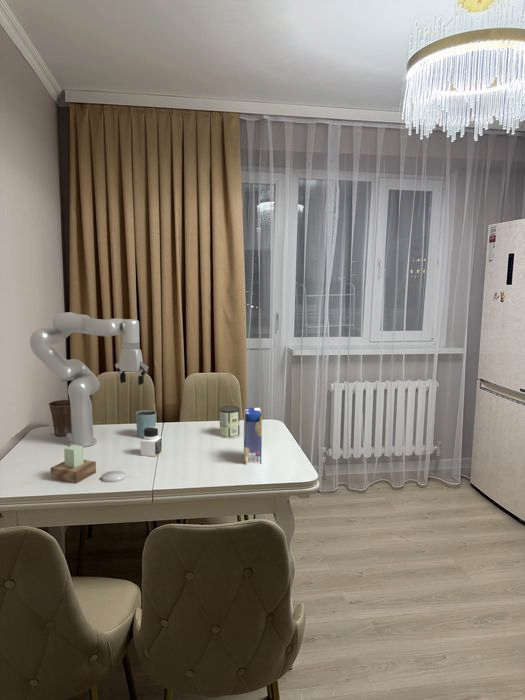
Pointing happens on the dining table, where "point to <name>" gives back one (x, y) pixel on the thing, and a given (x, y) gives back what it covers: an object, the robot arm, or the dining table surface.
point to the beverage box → (252, 435)
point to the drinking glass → (144, 421)
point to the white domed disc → (113, 476)
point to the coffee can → (229, 421)
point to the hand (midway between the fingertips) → (131, 383)
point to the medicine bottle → (151, 442)
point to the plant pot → (61, 416)
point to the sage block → (73, 456)
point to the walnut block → (73, 472)
